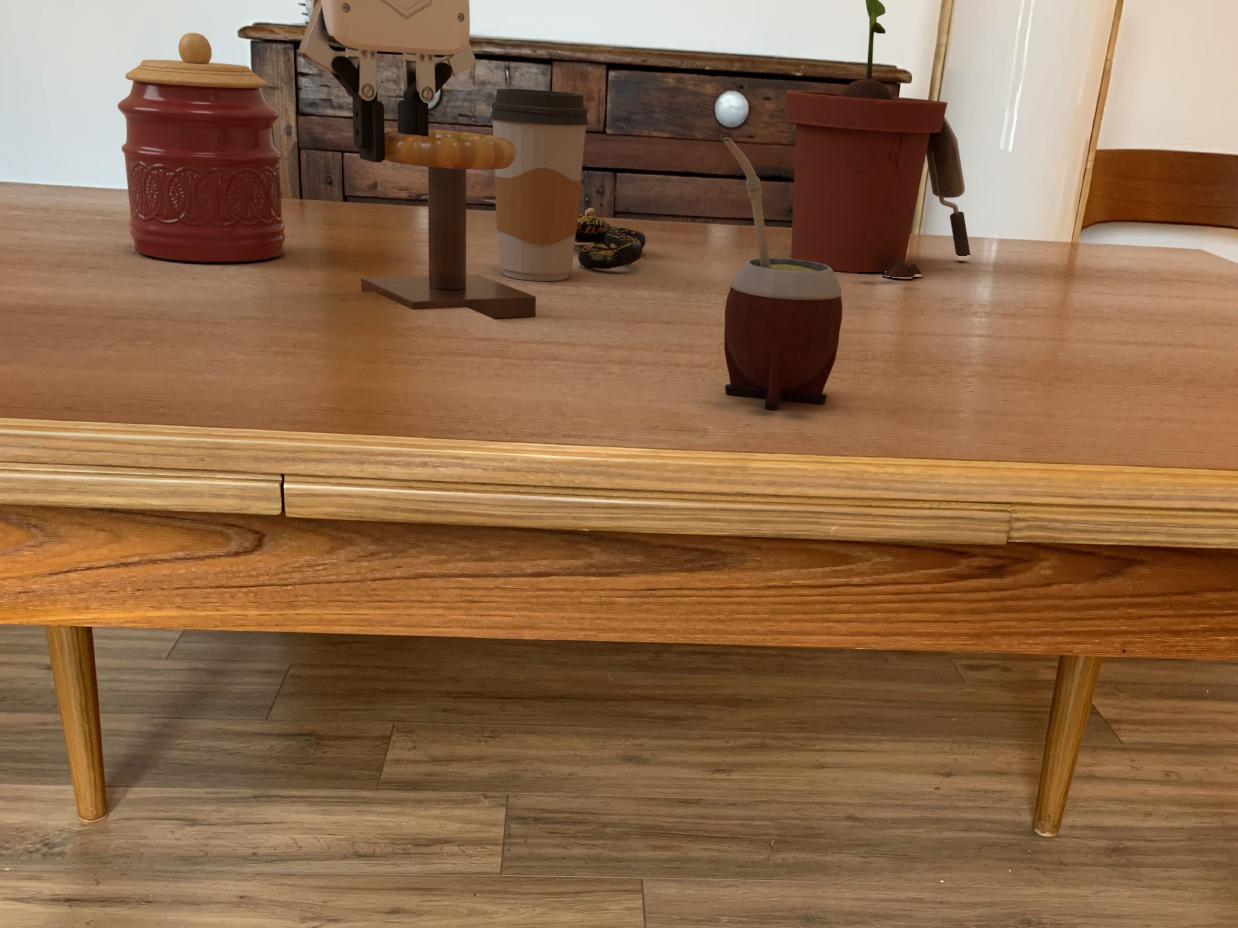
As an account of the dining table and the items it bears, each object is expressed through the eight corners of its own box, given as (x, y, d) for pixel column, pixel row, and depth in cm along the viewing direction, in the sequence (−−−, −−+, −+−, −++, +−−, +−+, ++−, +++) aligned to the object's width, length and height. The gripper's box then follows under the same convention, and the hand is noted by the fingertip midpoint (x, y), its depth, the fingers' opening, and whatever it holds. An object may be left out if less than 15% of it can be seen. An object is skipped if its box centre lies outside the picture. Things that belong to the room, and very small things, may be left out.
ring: (405, 168, 92) (405, 137, 91) (349, 153, 100) (348, 124, 99) (539, 173, 97) (541, 143, 97) (476, 158, 105) (476, 130, 104)
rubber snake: (636, 216, 120) (526, 217, 122) (637, 270, 122) (529, 270, 123) (660, 204, 137) (564, 204, 138) (661, 251, 139) (566, 251, 140)
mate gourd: (834, 390, 86) (864, 140, 80) (828, 420, 79) (860, 147, 73) (719, 379, 87) (739, 130, 81) (702, 407, 80) (723, 137, 73)
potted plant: (770, 246, 147) (793, -9, 137) (968, 260, 146) (1007, 6, 136) (770, 270, 131) (797, -17, 120) (993, 287, 130) (1040, 0, 120)
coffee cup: (574, 268, 124) (581, 92, 118) (589, 284, 117) (597, 97, 110) (484, 265, 122) (485, 86, 116) (493, 281, 115) (495, 91, 108)
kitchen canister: (184, 269, 111) (164, 32, 103) (102, 246, 118) (79, 24, 111) (315, 258, 120) (306, 40, 112) (232, 238, 127) (218, 32, 120)
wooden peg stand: (412, 322, 97) (410, 153, 92) (361, 297, 104) (356, 139, 99) (536, 316, 102) (539, 155, 97) (478, 293, 109) (479, 142, 105)
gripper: (286, -157, 82) (300, 164, 89) (521, -123, 90) (515, 168, 98) (248, -148, 87) (264, 153, 95) (473, -117, 96) (470, 158, 103)
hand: (391, 158), depth 96 cm, fingers closed on ring, 2 cm apart
